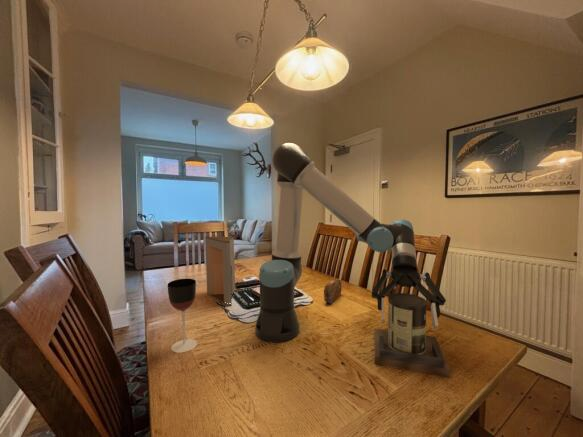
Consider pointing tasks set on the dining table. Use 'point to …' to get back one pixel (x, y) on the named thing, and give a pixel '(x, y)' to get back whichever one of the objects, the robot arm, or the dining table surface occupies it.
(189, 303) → the wineglass
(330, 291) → the brown rounded slab
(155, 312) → the dining table surface
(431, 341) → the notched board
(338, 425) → the dining table surface
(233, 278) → the cabinet
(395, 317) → the coffee can
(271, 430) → the dining table surface
